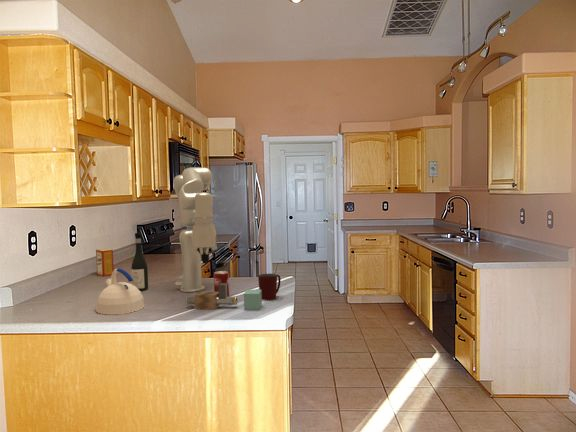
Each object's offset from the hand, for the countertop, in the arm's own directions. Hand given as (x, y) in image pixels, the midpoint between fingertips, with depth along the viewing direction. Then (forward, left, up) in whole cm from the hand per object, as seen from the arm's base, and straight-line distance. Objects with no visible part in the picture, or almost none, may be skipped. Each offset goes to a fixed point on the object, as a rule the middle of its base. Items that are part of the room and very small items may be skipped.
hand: (205, 263), depth 198 cm
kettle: (-39, -2, -20) cm, 44 cm away
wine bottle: (-45, +34, -20) cm, 60 cm away
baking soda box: (-84, +74, -20) cm, 114 cm away
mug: (+26, +17, -20) cm, 37 cm away
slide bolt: (+2, 0, -19) cm, 19 cm away
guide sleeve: (0, 0, -20) cm, 20 cm away
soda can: (+2, +19, -20) cm, 28 cm away
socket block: (+21, 0, -20) cm, 29 cm away
